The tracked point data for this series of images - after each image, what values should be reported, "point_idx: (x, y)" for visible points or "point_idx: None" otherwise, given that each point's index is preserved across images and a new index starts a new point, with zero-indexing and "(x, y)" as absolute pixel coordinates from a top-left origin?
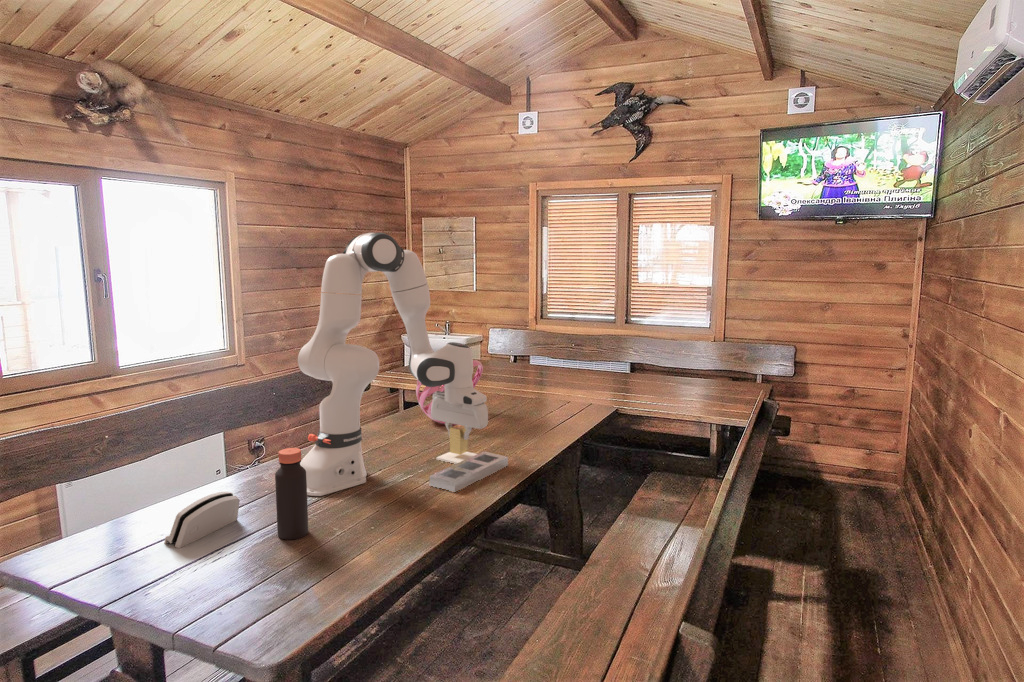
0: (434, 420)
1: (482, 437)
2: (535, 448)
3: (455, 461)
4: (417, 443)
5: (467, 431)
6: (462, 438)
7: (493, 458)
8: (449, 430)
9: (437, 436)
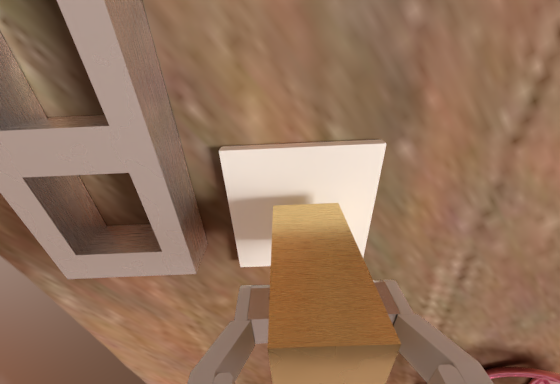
0: (551, 373)
1: None
2: (185, 363)
3: (265, 156)
4: (551, 239)
5: (205, 353)
6: (268, 286)
7: (113, 246)
8: (402, 318)
9: (493, 311)
